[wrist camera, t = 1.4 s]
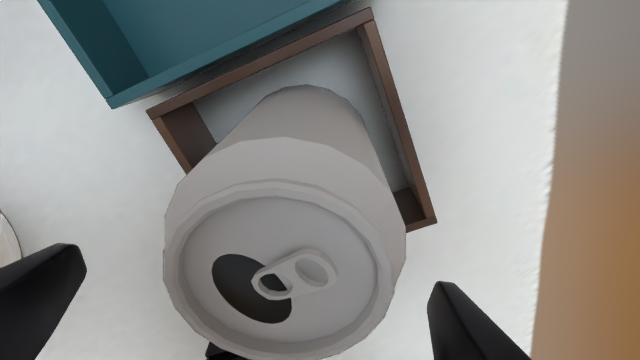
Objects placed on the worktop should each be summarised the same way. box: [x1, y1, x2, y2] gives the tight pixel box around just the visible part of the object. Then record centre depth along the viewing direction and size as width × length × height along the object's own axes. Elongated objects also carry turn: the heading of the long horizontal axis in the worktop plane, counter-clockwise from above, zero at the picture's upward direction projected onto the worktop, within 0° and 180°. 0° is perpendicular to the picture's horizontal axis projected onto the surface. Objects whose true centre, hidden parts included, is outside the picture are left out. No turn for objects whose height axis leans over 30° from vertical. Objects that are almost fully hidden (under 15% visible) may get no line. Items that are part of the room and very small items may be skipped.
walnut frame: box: [146, 7, 437, 233], centre depth 17 cm, size 11×11×4 cm
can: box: [163, 85, 406, 360], centre depth 14 cm, size 8×8×12 cm
